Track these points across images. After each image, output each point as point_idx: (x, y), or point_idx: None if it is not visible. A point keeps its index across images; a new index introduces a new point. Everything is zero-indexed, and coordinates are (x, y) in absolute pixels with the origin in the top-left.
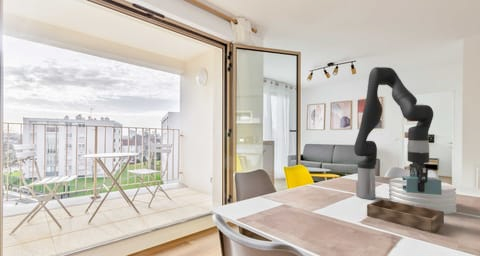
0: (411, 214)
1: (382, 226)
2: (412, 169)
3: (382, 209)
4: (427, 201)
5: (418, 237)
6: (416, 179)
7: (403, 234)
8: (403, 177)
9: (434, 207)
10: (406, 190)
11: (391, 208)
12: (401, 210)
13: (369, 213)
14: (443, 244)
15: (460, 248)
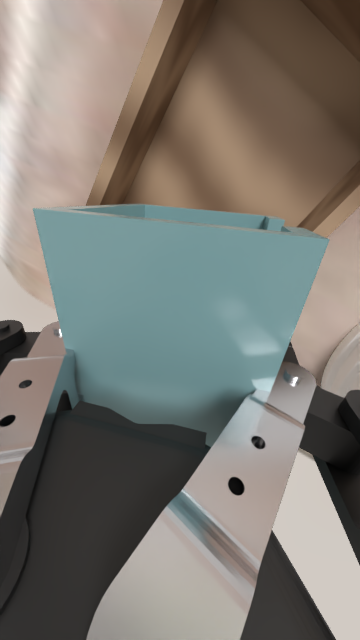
0: (99, 192)
1: (78, 24)
2: (163, 517)
3: (164, 8)
4: (357, 382)
5: (31, 175)
6: (70, 335)
7: (29, 120)
8: (244, 228)
9: (333, 384)
10: (142, 204)
11: (356, 169)
12: (307, 220)
13: None
14: (19, 233)
15: (18, 265)
